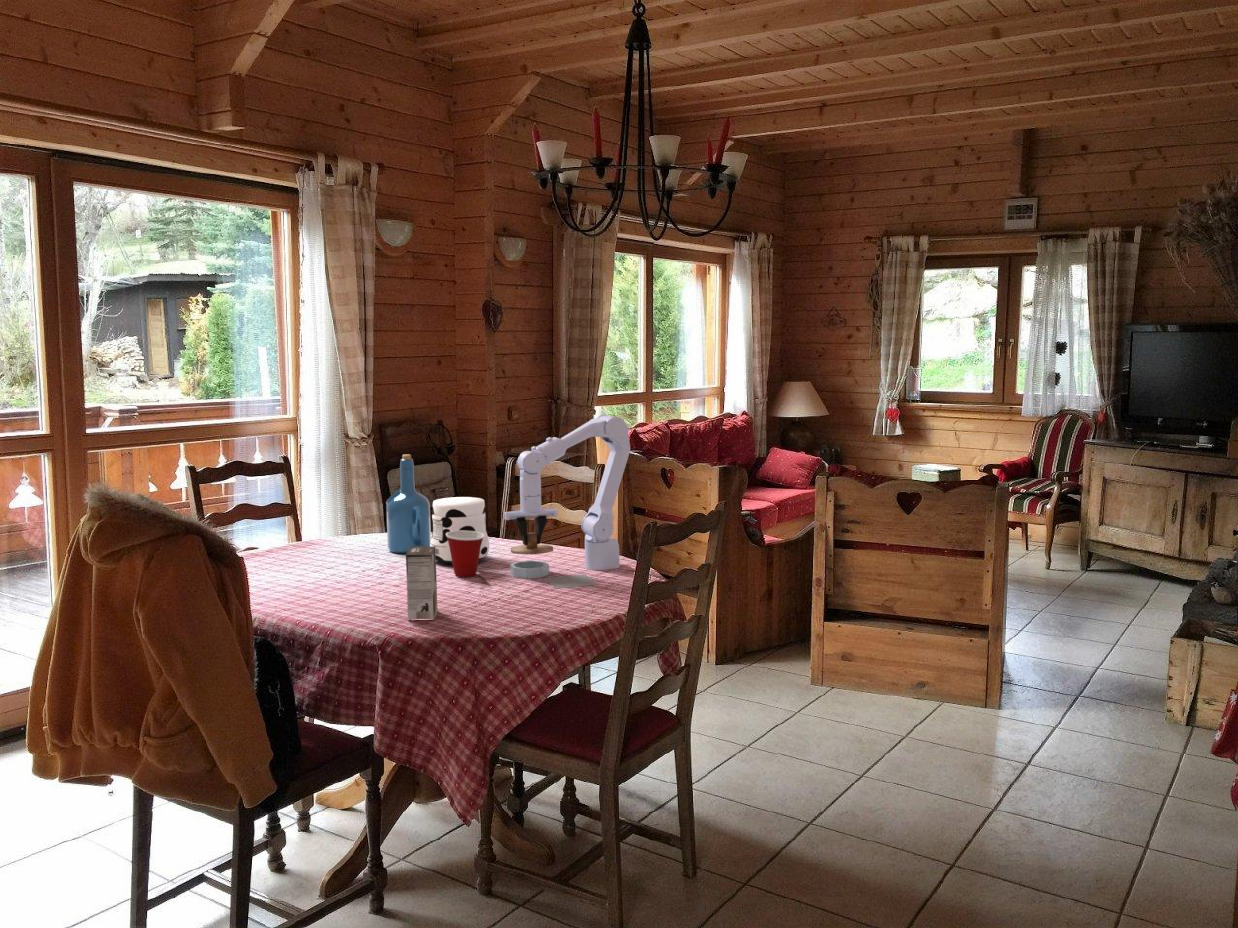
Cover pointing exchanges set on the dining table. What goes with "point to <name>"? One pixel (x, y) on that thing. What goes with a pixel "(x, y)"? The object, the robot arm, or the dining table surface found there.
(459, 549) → the plastic cup
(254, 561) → the dining table surface
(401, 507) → the wine bottle
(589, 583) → the mat
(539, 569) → the bowl
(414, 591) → the coffee box
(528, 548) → the lid
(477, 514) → the white black patterned jar
